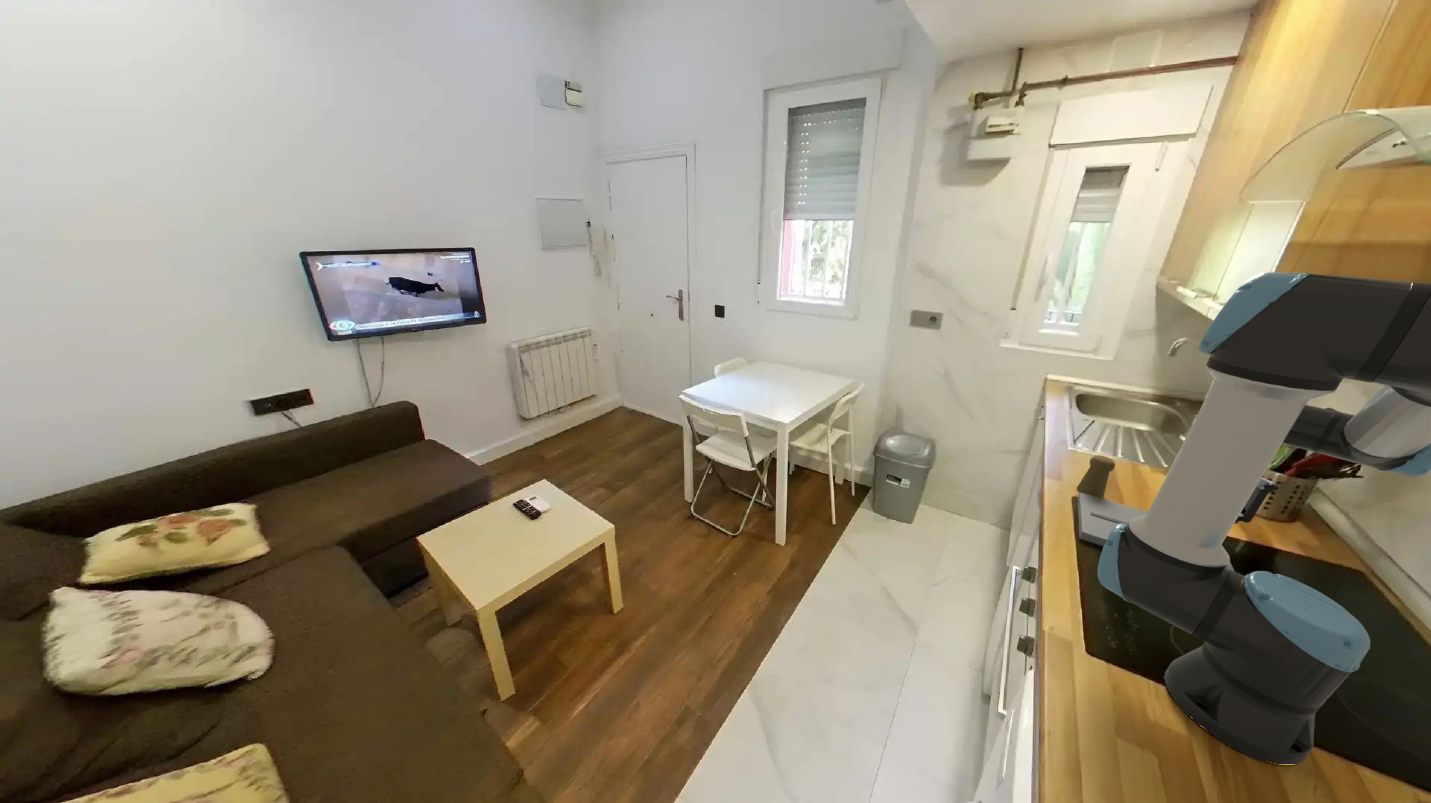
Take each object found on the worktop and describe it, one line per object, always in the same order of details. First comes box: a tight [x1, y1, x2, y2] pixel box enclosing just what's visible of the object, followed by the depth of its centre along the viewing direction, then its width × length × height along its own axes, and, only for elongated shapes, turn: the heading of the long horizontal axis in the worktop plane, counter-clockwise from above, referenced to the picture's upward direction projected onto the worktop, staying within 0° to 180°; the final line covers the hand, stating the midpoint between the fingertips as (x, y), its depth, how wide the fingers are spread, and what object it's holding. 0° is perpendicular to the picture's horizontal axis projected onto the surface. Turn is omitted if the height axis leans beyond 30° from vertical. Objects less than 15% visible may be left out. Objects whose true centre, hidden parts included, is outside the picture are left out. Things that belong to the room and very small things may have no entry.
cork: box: [1076, 455, 1116, 499], centre depth 121 cm, size 6×6×11 cm
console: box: [1077, 492, 1236, 572], centre depth 106 cm, size 20×26×2 cm
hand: (1193, 535), depth 101 cm, fingers open, 5 cm apart
